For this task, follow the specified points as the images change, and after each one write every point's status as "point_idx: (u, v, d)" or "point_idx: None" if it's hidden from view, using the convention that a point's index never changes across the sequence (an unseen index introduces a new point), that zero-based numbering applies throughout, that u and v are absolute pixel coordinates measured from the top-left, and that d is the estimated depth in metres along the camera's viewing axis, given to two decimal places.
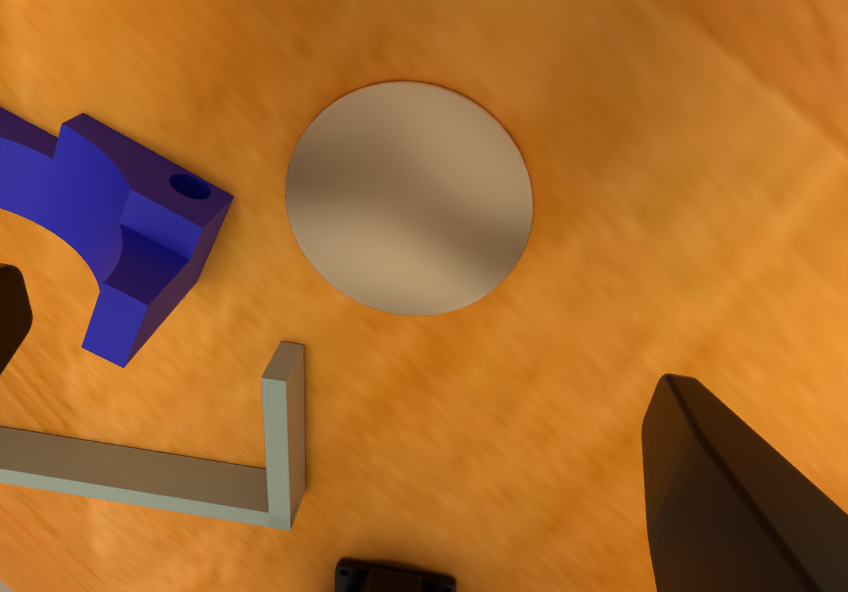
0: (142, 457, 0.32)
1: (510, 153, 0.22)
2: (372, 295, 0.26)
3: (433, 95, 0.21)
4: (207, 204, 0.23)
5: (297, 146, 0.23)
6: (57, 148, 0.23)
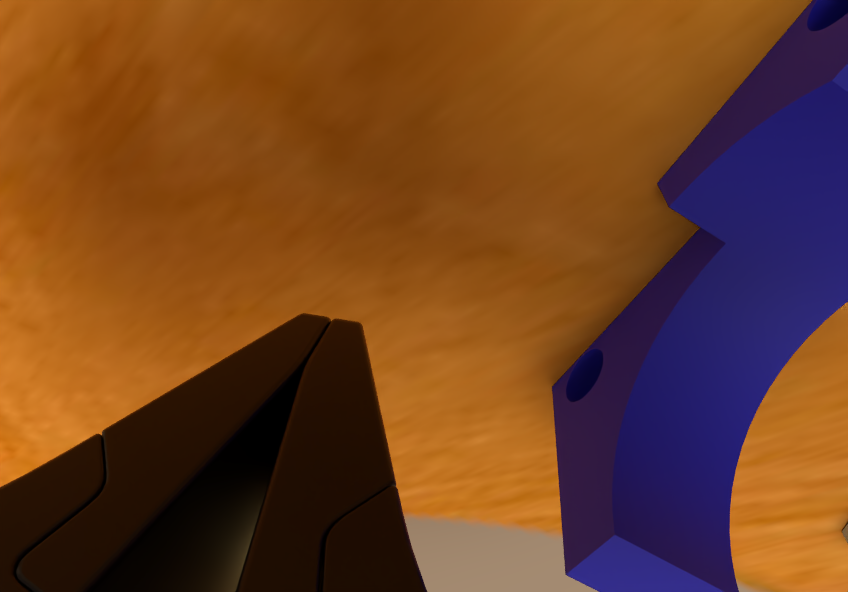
0: None
1: None
2: None
3: None
4: None
5: None
6: (709, 229, 0.13)
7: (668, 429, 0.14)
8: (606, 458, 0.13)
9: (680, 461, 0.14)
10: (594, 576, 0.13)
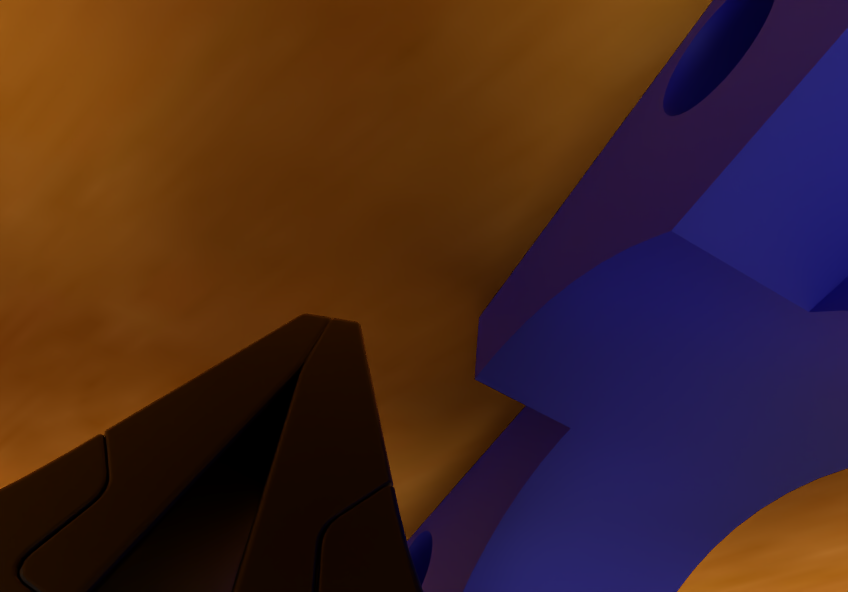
0: None
1: None
2: None
3: None
4: None
5: None
6: (541, 409, 0.09)
7: None
8: None
9: None
10: None
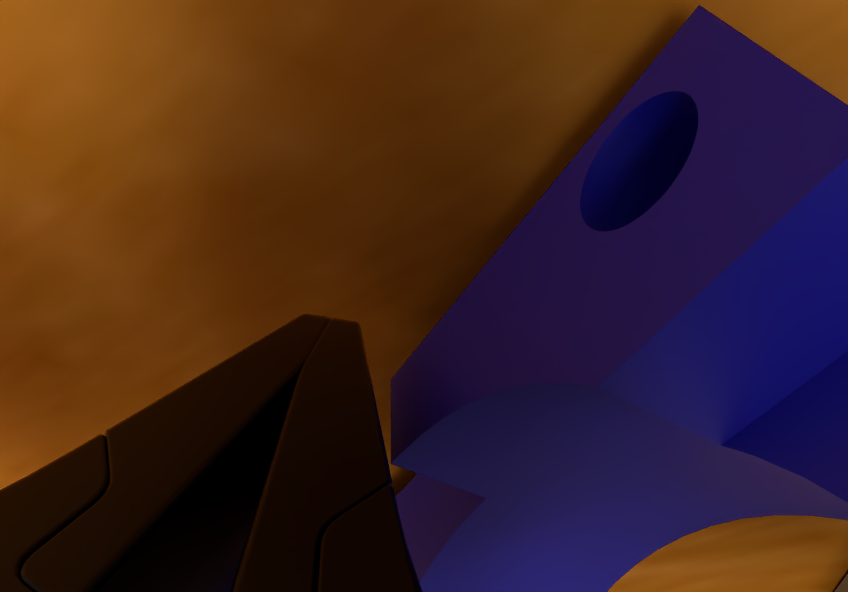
0: None
1: None
2: None
3: None
4: (726, 104, 0.05)
5: None
6: (458, 485, 0.09)
7: None
8: None
9: None
10: None
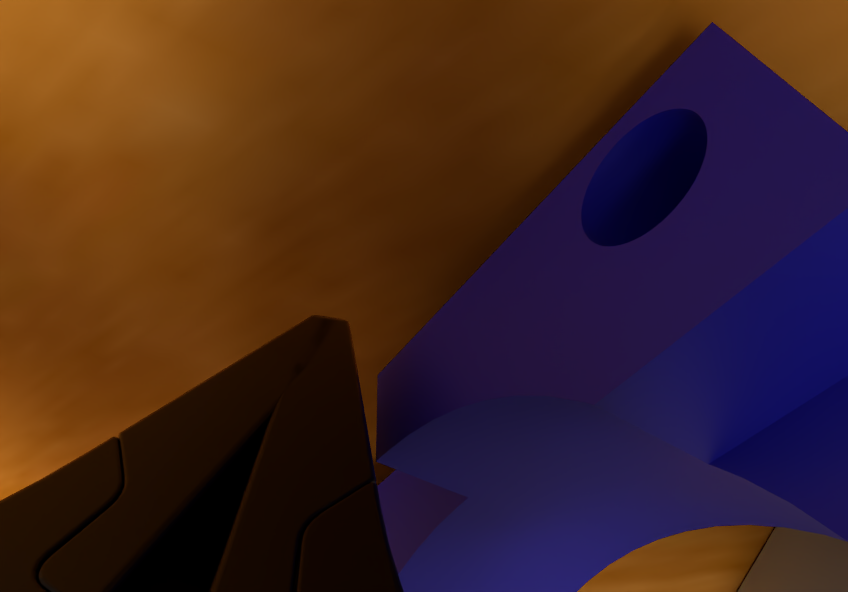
0: None
1: None
2: None
3: None
4: (737, 129, 0.05)
5: None
6: (441, 484, 0.09)
7: None
8: None
9: None
10: None
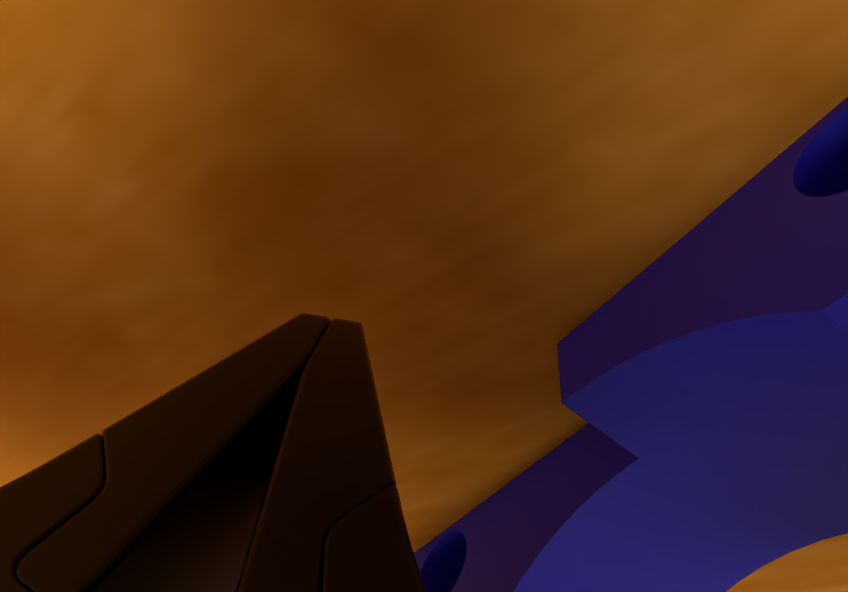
0: None
1: None
2: None
3: None
4: None
5: None
6: (617, 438, 0.09)
7: None
8: None
9: None
10: None
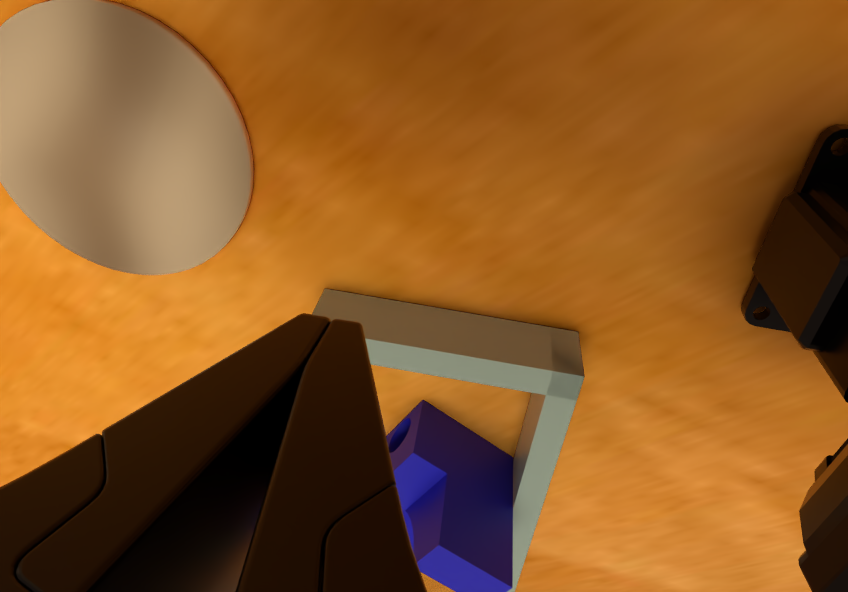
0: None
1: (11, 29, 0.19)
2: (229, 202, 0.21)
3: None
4: (410, 431, 0.24)
5: (76, 252, 0.23)
6: None
7: None
8: None
9: None
10: None
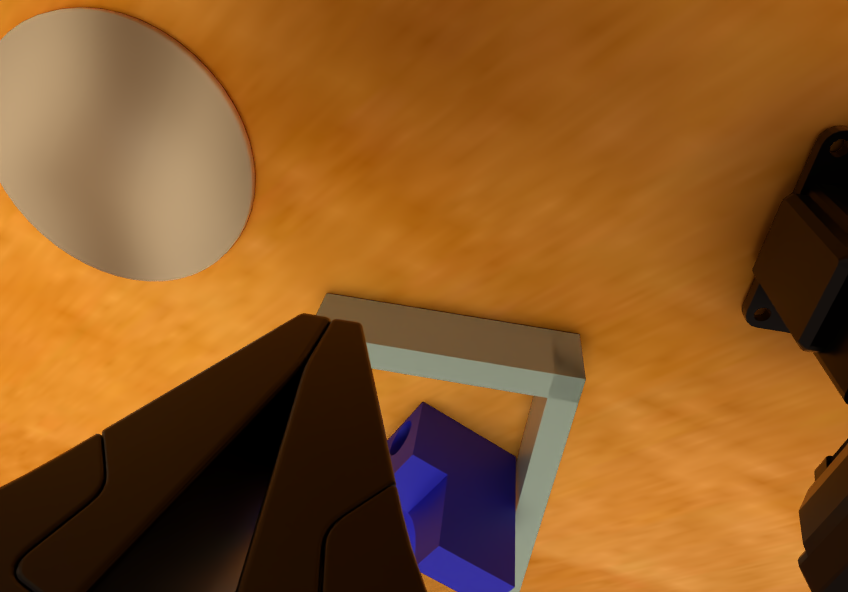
0: None
1: (14, 39, 0.19)
2: (230, 209, 0.21)
3: None
4: (411, 433, 0.24)
5: (80, 259, 0.23)
6: None
7: None
8: None
9: None
10: None
